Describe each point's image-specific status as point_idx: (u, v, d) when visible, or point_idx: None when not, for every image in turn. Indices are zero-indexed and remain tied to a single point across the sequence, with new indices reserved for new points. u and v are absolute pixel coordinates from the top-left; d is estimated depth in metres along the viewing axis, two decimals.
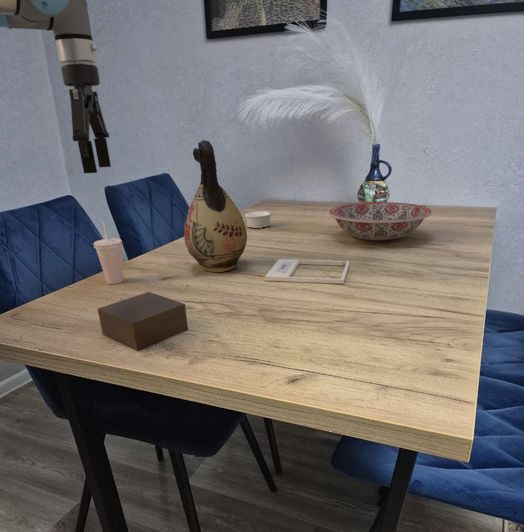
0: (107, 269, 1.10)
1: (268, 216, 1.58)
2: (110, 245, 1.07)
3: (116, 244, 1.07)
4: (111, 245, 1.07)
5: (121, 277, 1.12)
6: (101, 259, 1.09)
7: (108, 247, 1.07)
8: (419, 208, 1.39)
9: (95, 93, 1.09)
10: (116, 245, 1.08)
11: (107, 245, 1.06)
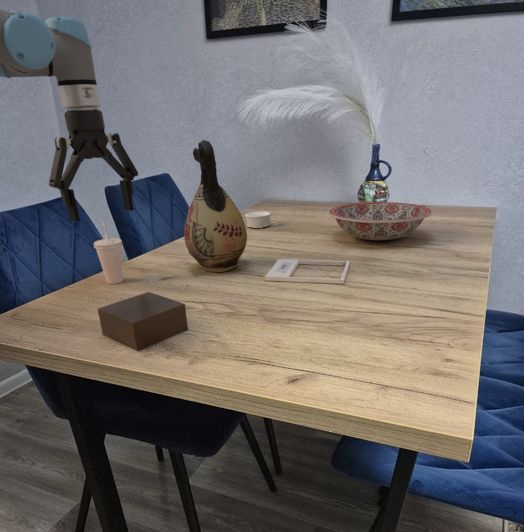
0: (107, 269, 1.10)
1: (268, 216, 1.58)
2: (110, 245, 1.07)
3: (116, 244, 1.07)
4: (111, 245, 1.07)
5: (121, 277, 1.12)
6: (101, 259, 1.09)
7: (108, 247, 1.07)
8: (419, 208, 1.39)
9: (114, 135, 1.02)
10: (116, 245, 1.08)
11: (107, 245, 1.06)
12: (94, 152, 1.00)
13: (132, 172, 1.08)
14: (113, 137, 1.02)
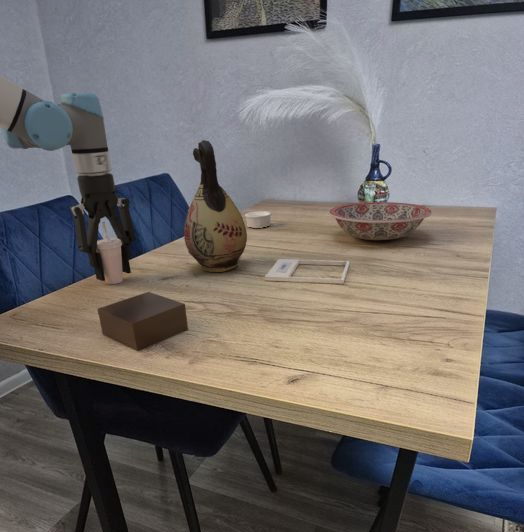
0: (107, 269, 1.10)
1: (268, 216, 1.58)
2: (110, 245, 1.06)
3: (116, 244, 1.07)
4: (111, 245, 1.07)
5: (121, 277, 1.12)
6: (101, 259, 1.09)
7: (108, 247, 1.07)
8: (419, 208, 1.39)
9: (125, 200, 1.08)
10: (116, 245, 1.07)
11: (107, 245, 1.06)
12: (105, 212, 1.05)
13: (130, 236, 1.12)
14: (123, 201, 1.08)
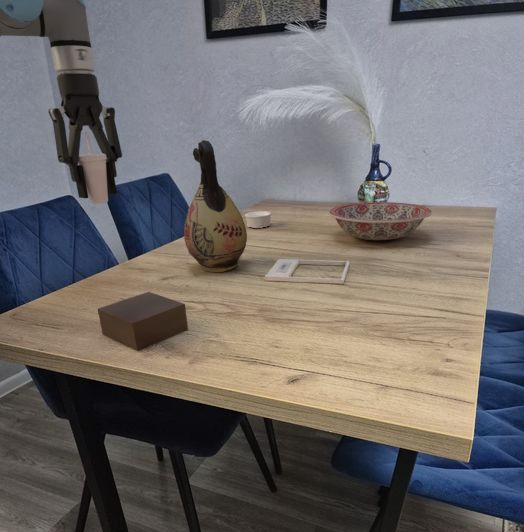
0: (90, 186, 1.00)
1: (268, 216, 1.58)
2: (93, 157, 0.97)
3: (100, 156, 0.98)
4: (94, 157, 0.97)
5: (106, 196, 1.03)
6: None
7: (91, 159, 0.97)
8: (419, 208, 1.39)
9: (110, 109, 0.99)
10: (100, 158, 0.98)
11: (90, 156, 0.97)
12: (88, 119, 0.96)
13: (116, 152, 1.02)
14: (108, 110, 0.99)
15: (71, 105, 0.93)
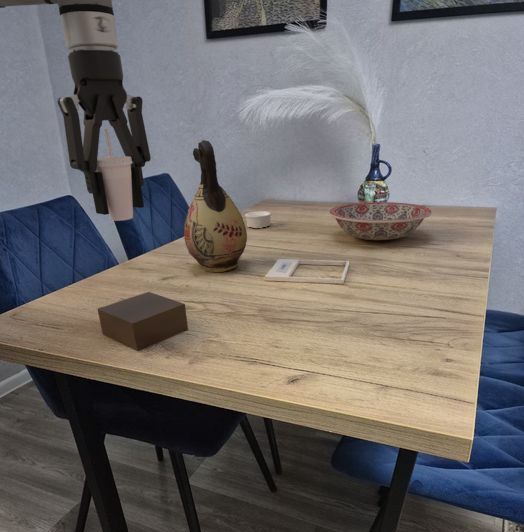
0: (111, 199, 0.78)
1: (268, 216, 1.58)
2: (116, 161, 0.74)
3: (124, 160, 0.75)
4: (117, 161, 0.75)
5: (131, 211, 0.80)
6: None
7: (113, 164, 0.74)
8: (419, 208, 1.39)
9: (136, 98, 0.76)
10: (124, 162, 0.75)
11: (111, 161, 0.74)
12: (108, 112, 0.73)
13: (143, 154, 0.80)
14: (134, 100, 0.76)
15: (87, 93, 0.70)
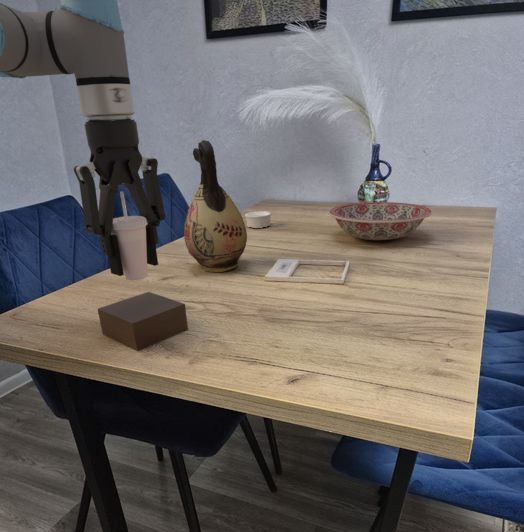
0: (126, 260, 0.77)
1: (268, 216, 1.58)
2: (131, 224, 0.74)
3: (139, 223, 0.75)
4: (132, 224, 0.74)
5: (146, 270, 0.80)
6: None
7: (128, 227, 0.74)
8: (419, 208, 1.39)
9: (152, 160, 0.76)
10: (139, 224, 0.75)
11: (127, 224, 0.74)
12: (124, 176, 0.73)
13: (158, 213, 0.80)
14: (149, 162, 0.76)
15: (103, 160, 0.70)
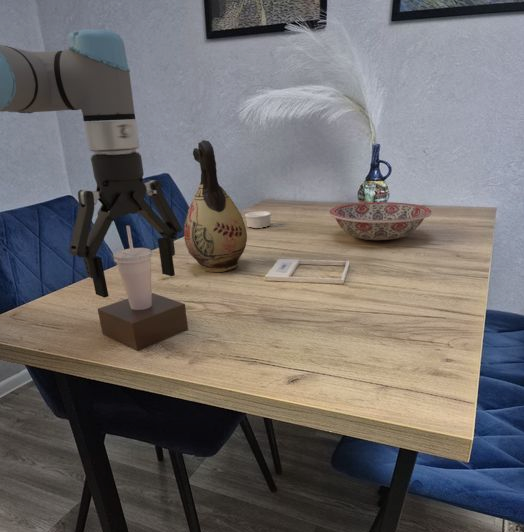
0: (131, 291, 0.80)
1: (268, 216, 1.58)
2: (137, 258, 0.77)
3: (145, 256, 0.78)
4: (138, 258, 0.77)
5: (150, 300, 0.83)
6: (124, 277, 0.79)
7: (134, 260, 0.77)
8: (419, 208, 1.39)
9: (155, 183, 0.78)
10: (145, 258, 0.78)
11: (133, 258, 0.77)
12: (129, 207, 0.75)
13: (175, 228, 0.83)
14: (153, 186, 0.78)
15: (109, 193, 0.72)
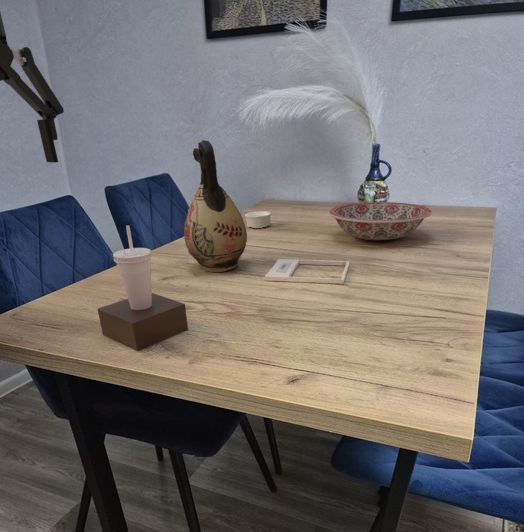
0: (131, 291, 0.80)
1: (268, 216, 1.58)
2: (137, 258, 0.77)
3: (145, 256, 0.78)
4: (138, 258, 0.77)
5: (150, 300, 0.83)
6: (124, 277, 0.79)
7: (134, 260, 0.77)
8: (419, 208, 1.39)
9: (23, 50, 0.71)
10: (145, 258, 0.78)
11: (133, 258, 0.77)
12: None
13: (54, 108, 0.77)
14: (22, 53, 0.72)
15: None
